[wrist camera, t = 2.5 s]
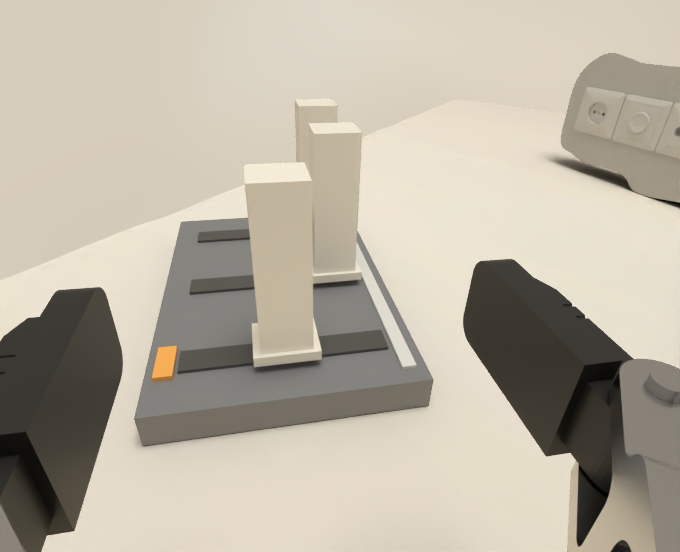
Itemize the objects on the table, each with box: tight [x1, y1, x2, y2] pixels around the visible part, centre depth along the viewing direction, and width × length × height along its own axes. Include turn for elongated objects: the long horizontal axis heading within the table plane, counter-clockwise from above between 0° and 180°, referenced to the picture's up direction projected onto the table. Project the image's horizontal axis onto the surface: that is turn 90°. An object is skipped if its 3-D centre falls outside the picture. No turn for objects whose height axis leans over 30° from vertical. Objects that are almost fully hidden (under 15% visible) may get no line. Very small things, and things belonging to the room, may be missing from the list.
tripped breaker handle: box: [244, 162, 322, 367], centre depth 22 cm, size 4×3×10 cm
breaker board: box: [134, 99, 433, 446], centre depth 29 cm, size 15×22×12 cm
